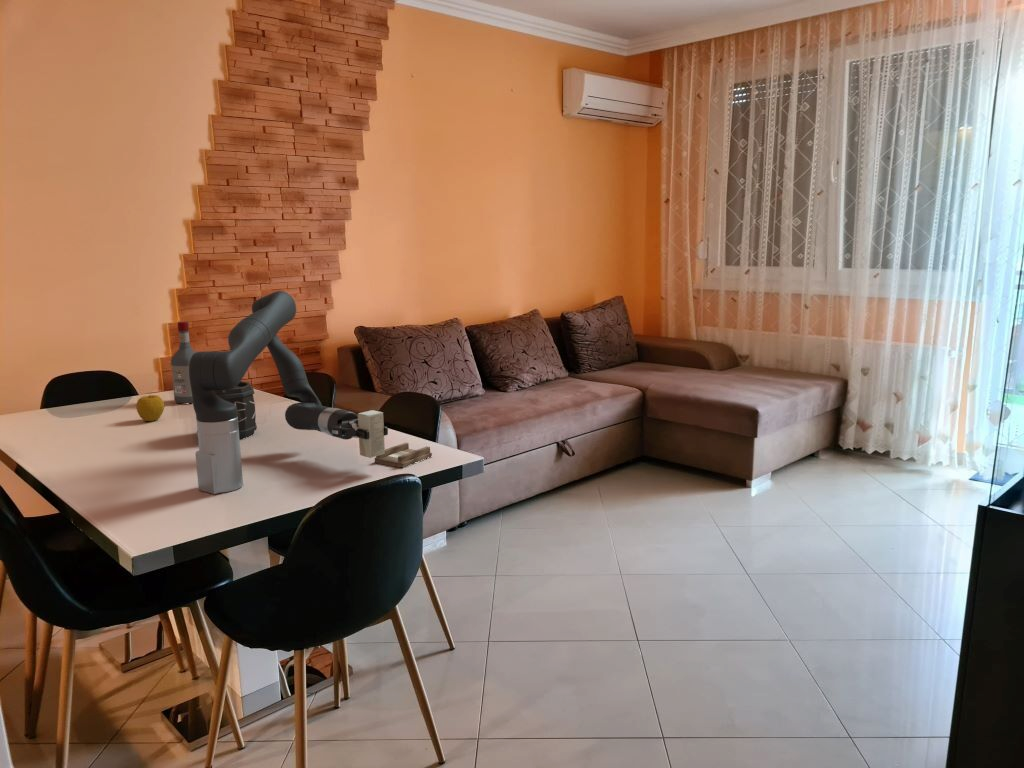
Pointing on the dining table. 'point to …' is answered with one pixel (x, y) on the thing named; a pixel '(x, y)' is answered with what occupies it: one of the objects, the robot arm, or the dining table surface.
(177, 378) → the liquor
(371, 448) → the box
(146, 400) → the apple
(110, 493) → the dining table surface
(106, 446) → the dining table surface
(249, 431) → the dark ribbed cylinder
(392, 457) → the shallow brown tray
